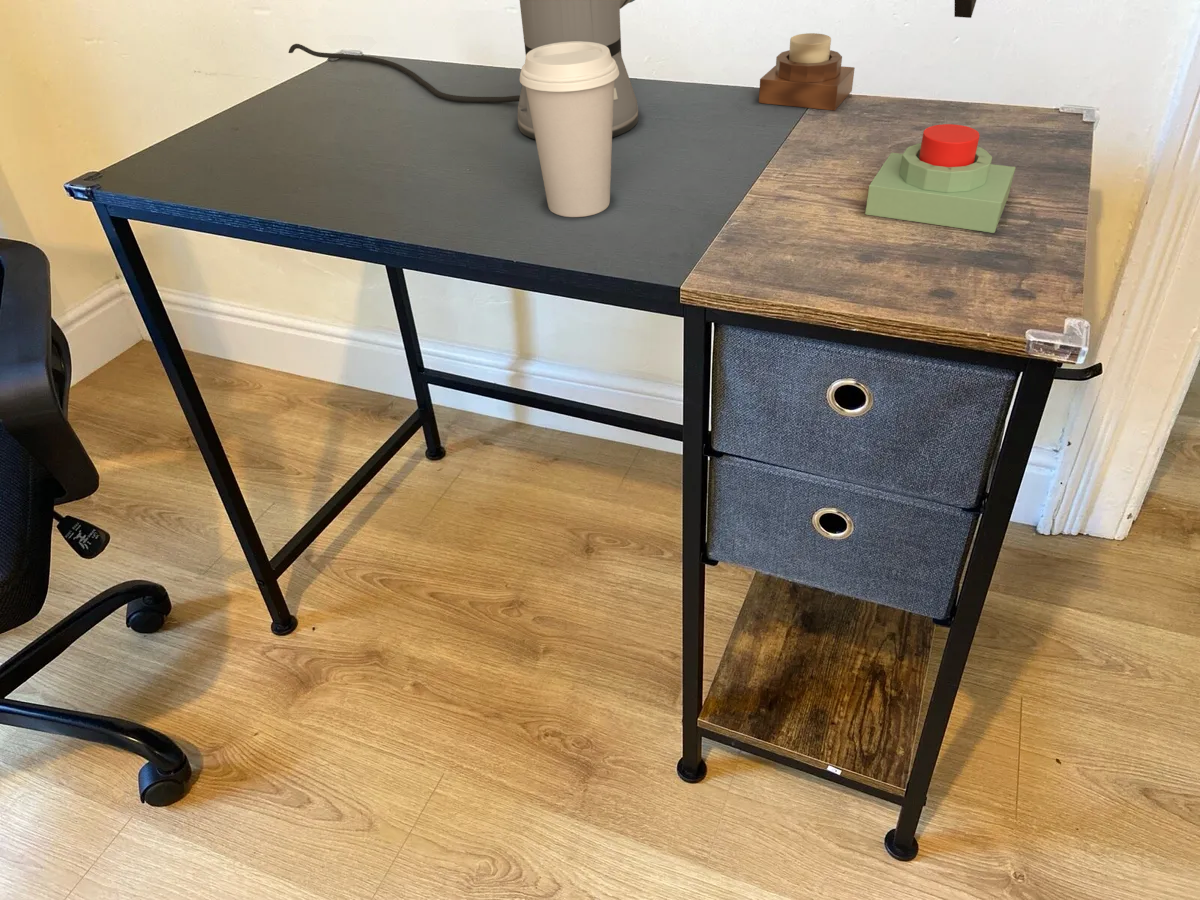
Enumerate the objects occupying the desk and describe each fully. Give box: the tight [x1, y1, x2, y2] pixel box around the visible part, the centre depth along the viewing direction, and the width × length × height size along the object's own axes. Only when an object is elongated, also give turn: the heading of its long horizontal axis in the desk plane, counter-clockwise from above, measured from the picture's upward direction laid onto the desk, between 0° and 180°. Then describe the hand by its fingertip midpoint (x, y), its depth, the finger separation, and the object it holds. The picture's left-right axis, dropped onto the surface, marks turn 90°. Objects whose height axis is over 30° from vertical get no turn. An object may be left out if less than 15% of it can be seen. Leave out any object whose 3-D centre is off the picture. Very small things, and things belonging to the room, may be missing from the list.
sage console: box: [864, 141, 1016, 234], centre depth 85 cm, size 12×9×5 cm
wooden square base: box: [758, 49, 855, 111], centre depth 113 cm, size 10×8×5 cm
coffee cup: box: [519, 41, 619, 218], centre depth 87 cm, size 10×10×15 cm
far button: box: [789, 32, 832, 63], centre depth 110 cm, size 5×5×2 cm
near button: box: [919, 123, 980, 167], centre depth 83 cm, size 5×5×2 cm
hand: (963, 8), depth 80 cm, fingers closed
